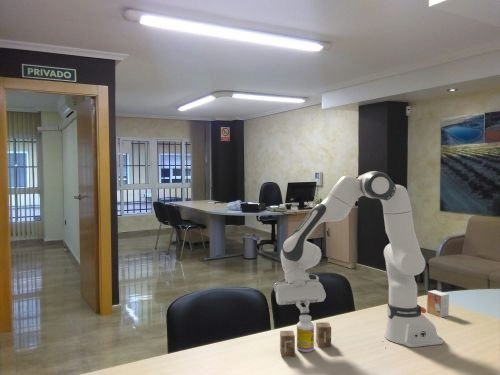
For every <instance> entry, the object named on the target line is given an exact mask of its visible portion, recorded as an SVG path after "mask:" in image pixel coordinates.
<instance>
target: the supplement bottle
mask: <svg viewBox="0 0 500 375" xmlns="http://www.w3.org/2000/svg"><path fill="white" fill-rule="evenodd" d="M314 331H315V324H314V323H313V322H312V316H311V315H309V314H300V315H299V321H298V322H297V324H296V349H297V350H298V351H300V352H304V353H310V352H312V351H314V349H315V348H314V347H315V332H314Z"/></svg>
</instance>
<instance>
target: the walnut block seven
mask: <svg viewBox="0 0 500 375" xmlns="http://www.w3.org/2000/svg"><path fill="white" fill-rule="evenodd" d="M279 332H280V333H279V334H280V335H279V338H280V339H279V342H280V343H279V348H280V349H279V351H280V356H281V358H295V357H296V345H295V343H296V338H295V337H296V335H295V332H294V330H280V331H279Z"/></svg>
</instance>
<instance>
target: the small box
mask: <svg viewBox="0 0 500 375" xmlns="http://www.w3.org/2000/svg"><path fill="white" fill-rule="evenodd" d="M426 297H427V298H426V299H427V302H426V303H427V304H426V313H429V314H432V315H434V316H437V317H438V318H443V317H448V316H449V310H450V309H449V306H450V294H449V293H446V292H443V291H439V290H437V289H435V290H434V289H433V290H427V296H426Z"/></svg>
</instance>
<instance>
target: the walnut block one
mask: <svg viewBox="0 0 500 375" xmlns="http://www.w3.org/2000/svg"><path fill="white" fill-rule="evenodd" d="M315 324H316V326H315V327H316V328H315V330H316V331H315V332H316V333H315V334H316V335H315V336H316V337H315V338H316V340H315V341H316V344H317V347H318V348H331V347H332V326H331V324H330V322H329V321H327V322H326V321H325V322H324V321H323V322H316V323H315Z"/></svg>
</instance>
